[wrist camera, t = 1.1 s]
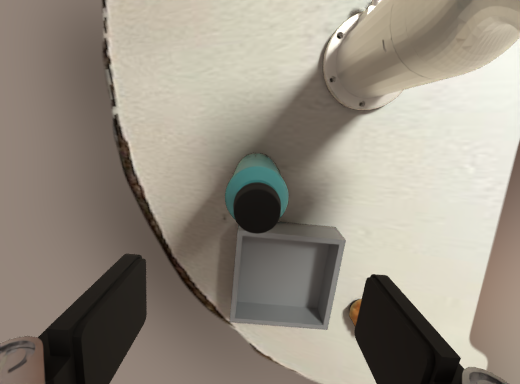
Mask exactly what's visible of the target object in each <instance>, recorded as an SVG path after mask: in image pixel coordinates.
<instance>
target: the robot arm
mask: <svg viewBox="0 0 520 384" xmlns="http://www.w3.org/2000/svg"><path fill="white" fill-rule="evenodd" d="M337 36H339V37H340V38H339V39H338V38H337ZM519 38H520V0H372V5H371V6H369V7H368V8H367V9H366V11H363V12H360V13H358V14H356V15H354V16H351V17H350V18H349V19H347V20H346V21H345V22H343V23H342V25H341V26H340V27H339V28H338V29H337V30H336V31H335V33H334V34H333V35H332V37H331V39H330V41H329V43H328V44H327V47H326V51H325V54H324V60H323V74H324V78H325V82H326V85H327V87H328V89H329V91H330V92H331V94H332V95H333V97H334V98H335V99H336V100H337V101H338V102H340V103H341V104H343V105H344V106H346V107H349V108H351V109H356V110H371V109H376V108H379V107H382V106H384V105H386V104H388V103H390V102H391V101H393V100H394V99H395V98H396V97H397V96H399V94H400V93H401V92H402V91H403V90H405V89H409V88H412V87H416V86H420V85H424V84H428V83H432V82H436V81H439V80H443V79H447V78H451V77H455V76H459V75H462V74H466V73H468V72H471V71H474V70H476V69H479V68H481V67H483V66H485V65H486V64H488V63H490V62H491V61H493V60H494V59H496V58H497V57H499V56H500V55H501V54H503V53H504V52H505V51H506V50H507V49H509V48H510V47H511V46H512V45H513V44H514V43H515V42H516V41H517V40H518V39H519ZM330 79H332V80H333V81H332V82H330ZM359 103H361V106H359ZM145 319H146V260H145V259H142V257H141V255H135V254H125V255H123V256H122V257H121V258H120V259H119V260H118V261H117V262H116V263H115V264H114V265H113V266H112V267H111V268H110V269H109V270H108V271H107V272H106V273H105V274H104V275H102V276H101V277H100V279H98V280H97V281H96V282H95V283H94V284H93V285H92V286H91V287H90V288H89V289H88V290H87V291H86V292H85V293H84V294H83V295H81V296H80V297H79V298H78V299H77V300H76V301H75V302H74V303H73V304H72V305H71V306H70V307H69V308H68V309H67V310H66V311H65V312H64V313H63V314H62V315H61V316H60V317H58V318H57V319H56V320H55V321H54V322H53V323H52V324H51V325H50V326H49V327H48V328H47V329H46V330H45V331H44V332H43V333H42V334H41V335H40V336H39V337H38V338H37V337H32V336H24V337H17V338H14V339H10V340H7V341H4V342H2V343H0V384H109V383H110V381H111V380H112V378H113V376H114V375H115V373H116V371H117V369H118V368H119V366H120V364H121V362H122V361H123V359H124V357H125V356H126V354H127V352H128V350H129V349H130V347H131V345H132V343H133V342H134V340H135V338H136V337H137V335H138V333H139V331H140V330H141V328H142V326H143V324H144V322H145ZM355 338H356V341H357V343H358V345H359V347H360V349H361V351H362V353H363V355H364V358H365V360H366V362H367V364H368V366H369V368H370V370H371V372H372V374H373V377H374V379H375V381H376V383H377V384H508V383H507V382H505V381H504V380H503V379H501V378H500V377H498V376H496V375H494V374H493V373H491V372H488V371H486V370H483V369H480V368H476V367H468V368H466V369H464V368H463V367H462V366H461V365H460V364H459V362H460V359H461V358H460V357H459V356H458V354H457V353H456V352H455V351H454V350H453V349H452V348H451V347H450V345H449V344H448V343H447V342H446V341H445V340H444V339H443V338H442V337H441V335H440V334H439V333H438V332H437V331H436V330H435V329H434V328H433V326H432V325H431V324H430V323H429V322H428V321H427V320H426V319H425V317H424V316H423V315H422V314H421V313H420V312H419V311H418V310H417V308H416V307H415V306H414V305H413V304H412V303H411V302H410V301H409V299H408V298H407V297H406V296H405V295H404V294H403V293H402V292H401V290H400V289H399V288H398V287H397V286H396V285H395V284H394V283H393V281H392V280H391V279H390V278H389V277H388V276H386V275H375V274H373V275H371V277H370V278H369V277H368V278H367V280H366V283H365V287H364V292H363V296H362V300H361V305H360V309H359V313H358V318H357V322H356V326H355Z"/></svg>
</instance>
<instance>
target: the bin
mask: <svg viewBox="0 0 520 384" xmlns="http://www.w3.org/2000/svg"><path fill="white" fill-rule="evenodd" d="M345 241H346V240H345V239H344V237H343V236H342V235H341V234H340V232H339V231H338V230H337V228H336V227H329V226H318V225H307V224H297V223H286V222H277V224H276V225H275V226H274V227H273V228H272V229H271V230H269V231H267V232H264V233H260V234H255V233H250V232H247V231H245V230H244V229H242V228H241V227H240V226H238V232H237V243H236V255H235V266H234V277H233V289H232V300H231V312H230V322H234V323H247V324H259V325H272V326H285V327H298V328H311V329H323V330H327V329H328V324H329V319H330V314H331V310H332V305H333V300H334V295H335V290H336V285H337V280H338V275H339V270H340V266H341V261H342V256H343V251H344V246H345Z"/></svg>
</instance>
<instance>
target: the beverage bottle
mask: <svg viewBox="0 0 520 384" xmlns="http://www.w3.org/2000/svg"><path fill="white" fill-rule="evenodd" d="M274 163H275V162H274ZM274 163H273V161H272V160H271V159H270V158H269V157H268V156H267V155H266V154H265V155H263V154H261V153H260V154H252V153H251V154H250V155H248V156H247V155H246V157H244V158H243V159H242V160H241V161H240V162H239V164H238V166H237V168H236V170H235V171H234V172H235V173H234V174H233V177H232V179H231V180H230V182H229V183H228V186H227V188H226V193H225V202H226V206H227V209H228V211H229V213H230V214H231V216H232V217H233V218H234V219H235V220H236V222H237V223H238V225H239V226H240V227H241V228H242V229H244V230H245V231H247V232H250V233H255V234H260V233H264V232H267V231H269V230H271V229H272V228H273V227H274V226H275V225H276V224H277V222H278V221H279V218H280V217H281V216H282V215H283V213H284V212H285V210H286V208H287V205H288V199H289V195H288V189H287V186H286V184H285V182H284V180H283V179H282V177H281V175H280V172H279V171H278V170H277V168H278V167H277V168H276V166H275V164H274Z"/></svg>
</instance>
